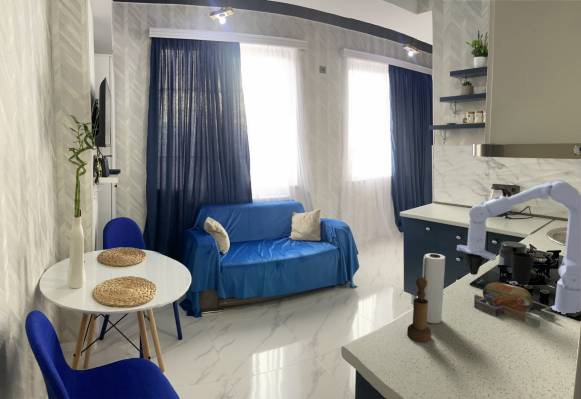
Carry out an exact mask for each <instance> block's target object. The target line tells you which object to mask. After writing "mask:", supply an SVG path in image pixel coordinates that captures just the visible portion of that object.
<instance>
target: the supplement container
mask: <svg viewBox="0 0 581 399" xmlns="http://www.w3.org/2000/svg"><path fill="white" fill-rule="evenodd" d="M527 247H528V246H527V245H526V244H524V243H522V242H518V241H502V242H501V243H500V249H499V250H498V251H499V252H498V253H499V254H498V256H499V257H498V265H507V266H509V268H512V259H511V254H512V253H514V252H522V253H528V252H527ZM498 265H497V266H498Z"/></svg>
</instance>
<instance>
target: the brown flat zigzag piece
mask: <svg viewBox="0 0 581 399" xmlns="http://www.w3.org/2000/svg"><path fill="white" fill-rule="evenodd" d="M473 298H474V299H473V304H474V305H473V306H474V308H475V309H477V310H480V311H482V312H484V313H487V314H489V315H491V316H494V317H499V316H502V315H506V316H508V317H511V318H513V319H515V320H518V321H520V322H522V323H525V324H527V325H529V326H532V327H534V328H537V329H539V328H541V323H542V322H541V319H539V318H542V319H544V320H545V321H546V320H547V321H549V322H551V323H555V321H556V320H555V319H556V313H554V312H553V310H552V307H551V306H548V305H547V304H543V303H541V302H537V301H535V300H533V305H532V307H531V308H530V310H528V311H527V312H529V313H531V314H534V315H537V316H539V318H537V317H534V316H532V315H529V314H527V313H526V312H525V313H522V312H520V311H517V310H515V309H512V308H510V307H507V306H505V305H502V306H499V307H494V306H492V305H490V304H488V303H487V302H486V301H487V298H484V297H483V295H480V294H474V297H473Z"/></svg>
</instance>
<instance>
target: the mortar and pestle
mask: <svg viewBox="0 0 581 399" xmlns="http://www.w3.org/2000/svg"><path fill="white" fill-rule="evenodd" d="M415 284H416V287H417V288H418V291H417V293H416V294H417V297H416V298H414V299H413V307H412V308H413V313H412V323H411V324H409V325H408V326H407V337H408V338H409V339H411V340H414V341H416V342H420V343H426V342H429V341H431V338H432V330H431V328H430V327H428V324H427V323H428V322H427V310H428V301H427V300H426V299H424V297H425V292H424V289H425V287H426V286H427V280H426V279H425V278H423V276H422V277H418V278H416V282H415Z"/></svg>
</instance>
